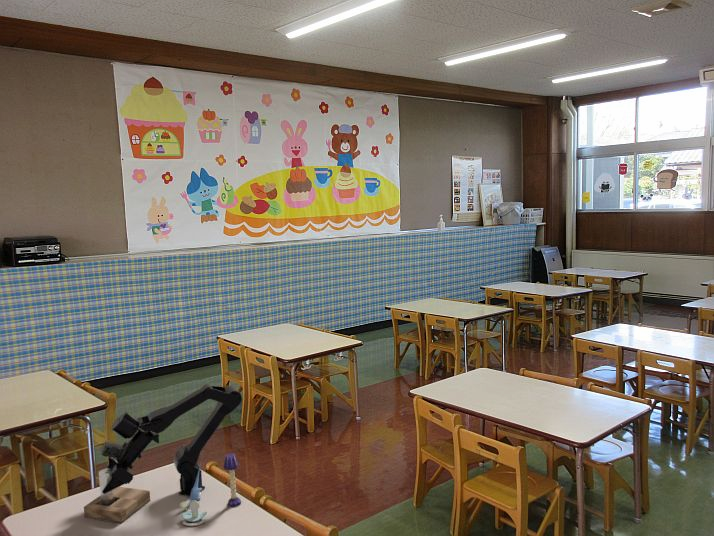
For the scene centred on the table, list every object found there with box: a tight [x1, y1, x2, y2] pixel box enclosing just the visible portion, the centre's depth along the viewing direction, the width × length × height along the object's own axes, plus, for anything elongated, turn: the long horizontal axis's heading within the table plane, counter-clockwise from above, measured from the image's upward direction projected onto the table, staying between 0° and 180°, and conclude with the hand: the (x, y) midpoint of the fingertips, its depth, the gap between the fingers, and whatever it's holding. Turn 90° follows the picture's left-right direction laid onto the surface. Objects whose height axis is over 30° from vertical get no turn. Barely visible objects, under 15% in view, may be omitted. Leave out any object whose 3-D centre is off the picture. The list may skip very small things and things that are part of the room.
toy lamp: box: [223, 452, 242, 508], centre depth 191 cm, size 5×5×17 cm
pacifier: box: [182, 500, 208, 527], centre depth 181 cm, size 7×6×6 cm
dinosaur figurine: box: [179, 463, 203, 512], centre depth 193 cm, size 3×15×10 cm
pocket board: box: [83, 486, 151, 524], centre depth 191 cm, size 14×14×4 cm
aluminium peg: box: [98, 467, 115, 506], centre depth 189 cm, size 4×4×13 cm
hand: (102, 486), depth 188 cm, fingers open, 9 cm apart
